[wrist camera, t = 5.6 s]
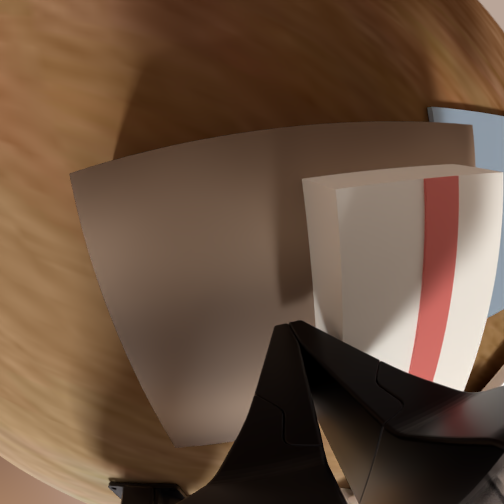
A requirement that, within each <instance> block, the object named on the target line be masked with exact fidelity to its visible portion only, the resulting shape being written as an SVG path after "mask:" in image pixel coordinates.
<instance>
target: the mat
mask: <svg viewBox="0 0 504 504" xmlns="http://www.w3.org/2000/svg"><path fill="white" fill-rule="evenodd" d="M427 109H428V116H429V122H440V123H456V124H469V125H473V135H474V147H475V164H476V167H477V168H483V169H488V170H494V171H499V172H503V213H502V228H501V239H500V248H499V256H498V263H497V270H496V276H495V282H494V287H493V293H492V298H491V302H490V307H489V311H488V315H487V318H488V317H490V316H492V315H494V314H496V313H498V312H499V311H501V310H503V309H504V116H499V115H494V114H488V113H481V112H474V111H467V110H459V109H450V108H440V107H427Z"/></svg>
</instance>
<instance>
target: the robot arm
mask: <svg viewBox="0 0 504 504" xmlns="http://www.w3.org/2000/svg"><path fill="white" fill-rule="evenodd" d="M317 419H318V420H317ZM318 421H319V424H320V426H321V428H322V430H323V432H324V434H325V436H326V438H327V440H328V442H329V444H330V446H331V448H332V451H333V453H334V455H335V457H336V459H337V461H338V463H339V465H340V467H341V469H342V471H343V473H344V475H345V477H346V479H347V481H348V483H349V485H350V487H351V489H352V491H353V494H354V496H355V498H356V500H357V502H358V504H504V386H500V387H497V388H493V389H490V390H486V391H482V392H464V391H460V390H456V389H453V388H450V387H447V386H444V385H441V384H438V383H435V382H432V381H429V380H426V379H423V378H420V377H418V376H415V375H412V374H410V373H407V372H405V371H402V370H400V369H398V368H396V367H393V366H391V365H389V364H387V363H385V362H383V361H380V360H379V359H377V358H375V357H373V356H371V355H369V354H367V353H365V352H363V351H361V350H359V349H357V348H355V347H353V346H351V345H349V344H347V343H345V342H343V341H341V340H339V339H337V338H335V337H333V336H331V335H329V334H327V333H326V332H324V331H322V330H320V329H318V328H316V327H314V326H312V325H310V324H308V323H306V322H305V321H303V320H297V321H293V322H290V323H288V324H287V323H284V324H280V325H276V326H274V329H273V332H272V336H271V339H270V343H269V346H268V350H267V353H266V357H265V360H264V364H263V367H262V371H261V374H260V377H259V381H258V384H257V387H256V391H255V394H254V397H253V400H252V403H251V406H250V409H249V412H248V414H247V417H246V420H245V422H244V424H243V426H242V428H241V430H240V432H239V434H238V436H237V438H236V440H235V442H234V443H233V445H232V447H231V449H230V451H229V453H228V454H227V456H226V458H225V460H224V462H223V463H222V465H221V467H220V469H219V470H218V472H217V473H216V475H215V476H214V478H213V479H212V480H211V481H210V482H209V483H208V484H207V485H206V486H204V487H203V488H201V489H200V490H198V491H196V492H195V493H193V494H192V495H190V496H188V497H187V496H186V495H185V494H184V492H183V491H182V490H181V489H180V488H179V486H177V485H175V484H129V483H113V482H110V483H109V486H108V487H109V488H110V489H111V490H112V491H113V492H114V493H115V494H116V495H117V496H118V497H119V498H120V499H121V504H348V503H347V501H346V499H345V497H344V495H343V493H342V491H341V489H340V487H339V485H338V483H337V481H336V479H335V477H334V475H333V473H332V471H331V469H330V467H329V465H328V462H327V459H326V455H325V451H324V448H323V442H322V437H321V433H320V429H319V424H318Z"/></svg>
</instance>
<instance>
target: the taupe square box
mask: <svg viewBox="0 0 504 504" xmlns="http://www.w3.org/2000/svg"><path fill="white" fill-rule="evenodd" d="M443 164H457V165H464V166H470V167H476V164H475V147H474V135H473V125H469V124H456V123H440V122H414V121H372V122H345V123H328V124H314V125H302V126H292V127H283V128H274V129H266V130H258V131H251V132H244V133H237V134H231V135H225V136H219V137H213V138H207V139H202V140H197V141H192V142H187V143H182V144H177V145H172V146H168V147H163V148H159V149H155V150H151V151H146V152H142V153H138V154H135V155H131V156H127V157H123V158H119V159H116V160H112V161H109V162H105V163H102V164H98V165H95V166H92V167H89V168H85V169H82V170H79V171H76V172H73V173H70V179H71V184H72V189H73V193H74V198H75V202H76V207H77V211H78V215H79V219H80V223H81V227H82V230H83V234H84V238H85V241H86V245H87V248H88V252H89V255H90V258H91V262H92V265H93V268H94V271H95V274H96V277H97V280H98V283H99V286H100V289H101V292H102V295H103V297H104V300H105V303H106V306H107V308H108V311H109V314H110V316H111V319H112V321H113V324H114V326H115V329H116V331H117V334H118V336H119V338H120V341H121V343H122V345H123V348H124V350H125V352H126V355H127V357H128V359H129V361H130V363H131V366H132V368H133V370H134V372H135V374H136V376H137V378H138V380H139V382H140V384H141V386H142V388H143V390H144V392H145V394H146V396H147V398H148V400H149V402H150V404H151V406H152V408H153V410H154V412H155V413H156V415H157V417H158V419H159V421H160V422H161V424H162V426H163V428H164V429H165V431H166V433H167V435H168V436H169V438H170V440H171V441H172V443H173V445H174V446H175V448H179V447H191V446H202V445H211V444H219V443H226V442H233V441H235V440H236V438H237V436H238V434H239V432H240V430H241V428H242V426H243V424H244V422H245V420H246V417H247V414H248V412H249V409H250V406H251V403H252V400H253V397H254V394H255V391H256V387H257V384H258V381H259V377H260V374H261V371H262V367H263V364H264V360H265V357H266V353H267V350H268V346H269V343H270V339H271V336H272V332H273V329H274V326H276V325H280V324H284V323H287V324H288V323H290V322H293V321H297V320H303V321H305V322H306V323H308V324H310V325H312V326H314V327H316V325H315V309H314V295H313V282H312V270H311V259H310V248H309V238H308V228H307V219H306V210H305V202H304V193H303V185H302V179H304V178H311V177H319V176H327V175H334V174H343V173H351V172H360V171H370V170H379V169H390V168H401V167H414V166H427V165H443ZM317 420H318V419H317ZM318 423H319V421H318Z"/></svg>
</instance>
